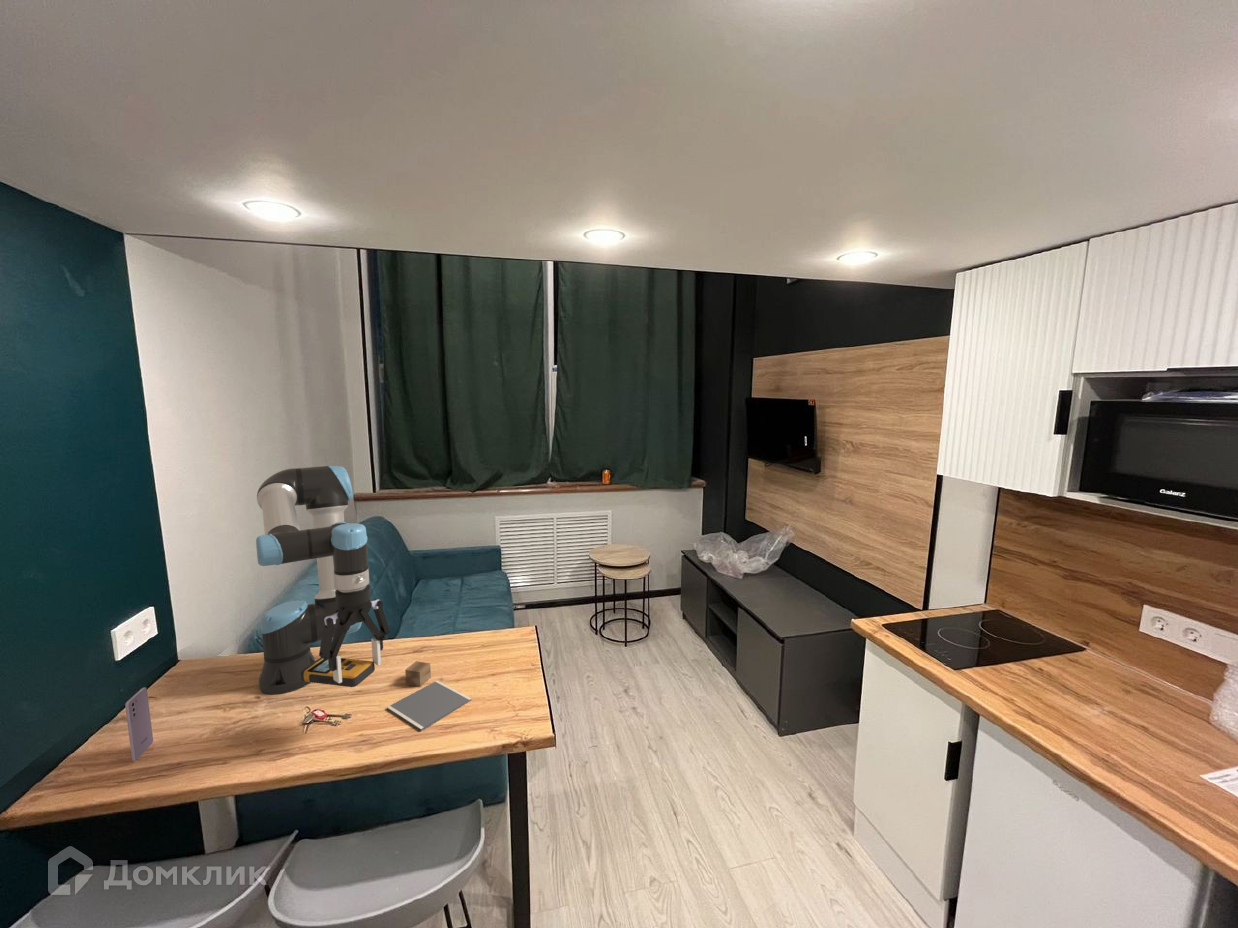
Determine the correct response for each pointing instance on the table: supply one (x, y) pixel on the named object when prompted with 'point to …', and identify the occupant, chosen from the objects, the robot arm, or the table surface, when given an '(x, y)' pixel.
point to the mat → (428, 705)
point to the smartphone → (139, 723)
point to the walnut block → (418, 674)
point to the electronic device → (350, 671)
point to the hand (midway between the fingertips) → (357, 671)
